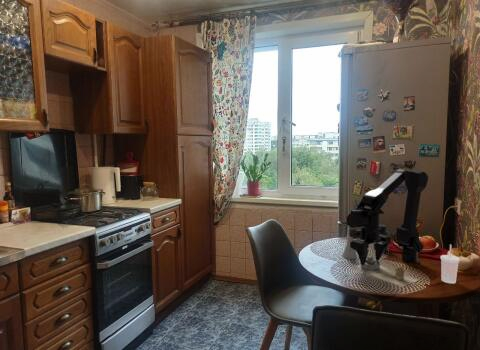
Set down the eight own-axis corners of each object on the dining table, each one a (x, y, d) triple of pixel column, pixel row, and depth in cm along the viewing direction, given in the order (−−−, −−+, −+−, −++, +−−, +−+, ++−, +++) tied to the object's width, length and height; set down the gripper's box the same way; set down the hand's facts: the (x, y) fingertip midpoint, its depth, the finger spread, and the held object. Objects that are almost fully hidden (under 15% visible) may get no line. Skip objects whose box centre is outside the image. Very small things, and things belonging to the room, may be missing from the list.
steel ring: (368, 263, 141) (368, 257, 140) (382, 268, 135) (383, 262, 135) (357, 266, 137) (357, 260, 137) (371, 272, 131) (371, 266, 131)
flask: (359, 262, 145) (360, 239, 144) (342, 260, 147) (342, 238, 146) (357, 256, 152) (357, 235, 151) (340, 255, 154) (341, 234, 153)
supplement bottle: (389, 249, 162) (390, 224, 161) (387, 253, 156) (388, 228, 155) (374, 246, 166) (375, 223, 165) (371, 250, 160) (372, 226, 159)
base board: (369, 263, 143) (370, 250, 142) (420, 282, 124) (421, 266, 124) (350, 269, 137) (351, 255, 136) (401, 289, 118) (401, 273, 118)
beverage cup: (451, 285, 121) (453, 248, 120) (435, 279, 127) (437, 243, 126) (462, 282, 124) (464, 245, 122) (446, 276, 129) (448, 241, 128)
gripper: (369, 218, 146) (368, 252, 147) (339, 224, 136) (338, 261, 138) (392, 223, 136) (391, 260, 138) (362, 230, 127) (361, 270, 128)
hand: (370, 262), depth 136 cm, fingers open, 9 cm apart
